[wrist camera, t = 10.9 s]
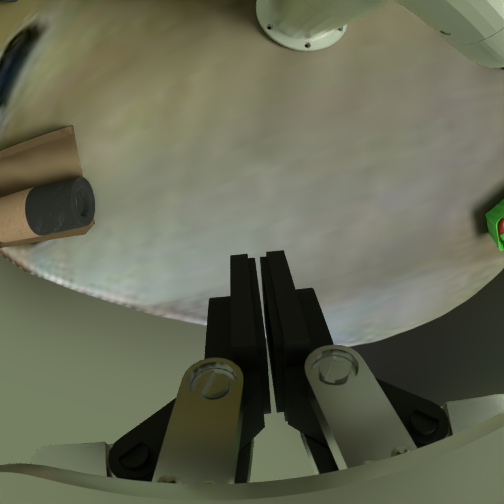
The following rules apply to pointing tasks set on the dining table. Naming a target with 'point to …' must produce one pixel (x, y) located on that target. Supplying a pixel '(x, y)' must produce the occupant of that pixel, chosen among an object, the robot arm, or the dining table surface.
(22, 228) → the travel mug
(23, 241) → the tray
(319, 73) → the dining table surface
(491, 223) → the fruit basket
